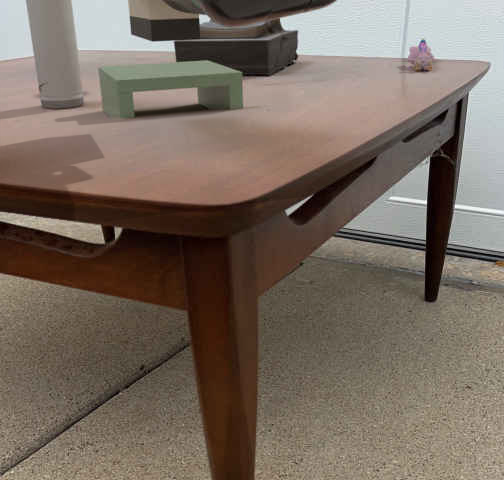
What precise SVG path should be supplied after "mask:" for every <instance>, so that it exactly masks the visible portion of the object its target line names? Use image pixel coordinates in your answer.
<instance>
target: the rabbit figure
mask: <svg viewBox="0 0 504 480" xmlns="http://www.w3.org/2000/svg"><path fill="white" fill-rule="evenodd" d="M408 50H409V53H410V54H409V55H408V56H407V59H405V62H406V63H410V64H411V65H412V66H413V69H414V71H415V72H416V73H417V72H419V71H425V70H429V71H432V70H433V62H435V63H439V62H440V59H438V58H435V57H434V55H433V54H432V52H431V51H432V49H431V47H430V46H428V45H427V41H426V39H425V38H422V39H421V40H420V42H419V44H418V45H417V46H415V45H412V46H410V47H409V49H408ZM417 70H418V71H417Z"/></svg>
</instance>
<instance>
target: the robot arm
mask: <svg viewBox="0 0 504 480" xmlns="http://www.w3.org/2000/svg"><path fill="white" fill-rule="evenodd" d="M163 1H164V2H165V3H166V4H167V5H169V6H170V7H172V8H173V9H175V10H178V11H181V12H185V13H192V14H199V15H200V16H207V17H208V18H209V20H210V19H212V20H213V21H214V22H215V23H217V24H219V25H221V26H224V27H241V26H247V25H251V24H255V23H260V22H263V21H269V20H273V19H278V18H280V19H282V18H286V17H291V16H296V15H300V14H304V13H305V14H306V13H309V12H315V11H318V10H322V9H324V8H328V7H330V6H331V5H333V4H335V3H336V2H337V1H338V0H163Z"/></svg>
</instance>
